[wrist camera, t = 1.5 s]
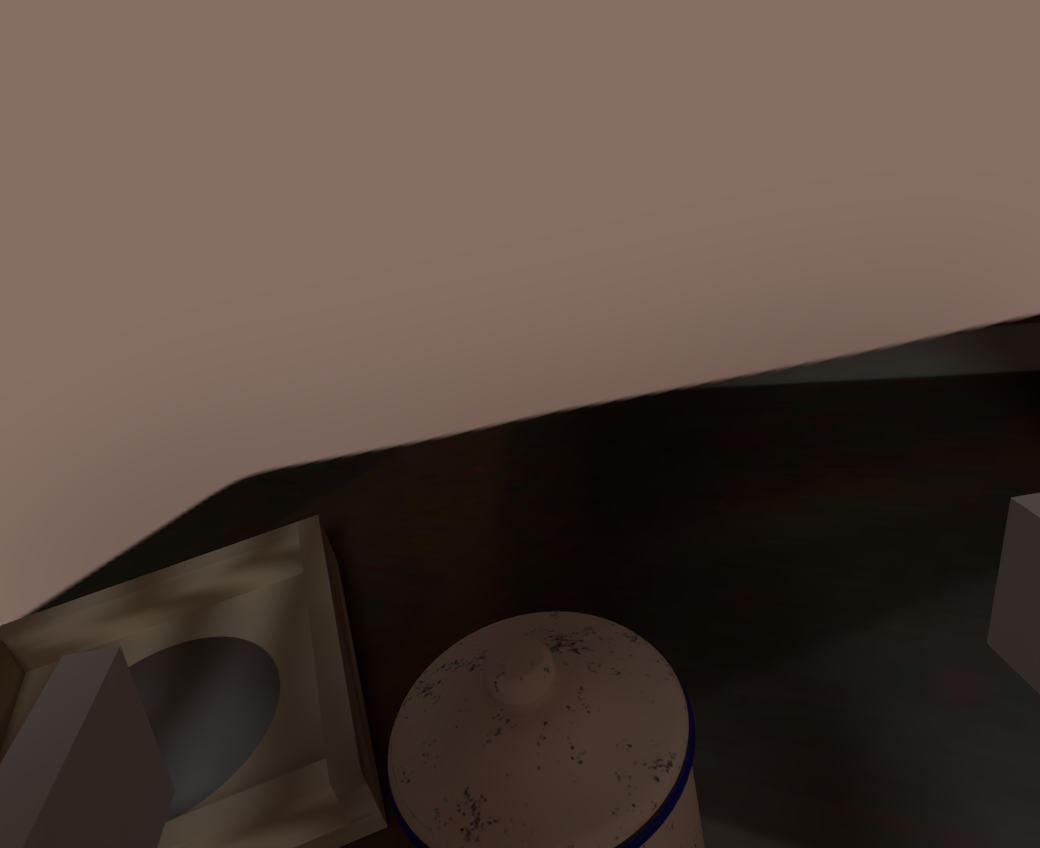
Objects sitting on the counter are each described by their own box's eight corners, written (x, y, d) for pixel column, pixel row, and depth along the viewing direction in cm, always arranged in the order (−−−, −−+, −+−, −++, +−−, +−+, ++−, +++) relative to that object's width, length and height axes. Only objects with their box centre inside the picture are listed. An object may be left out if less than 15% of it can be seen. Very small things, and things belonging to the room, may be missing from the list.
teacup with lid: (443, 816, 32) (351, 596, 26) (663, 747, 32) (622, 517, 27) (493, 1219, 21) (359, 1002, 16) (817, 1105, 22) (804, 856, 16)
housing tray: (337, 562, 47) (318, 514, 45) (387, 827, 32) (360, 770, 30) (16, 678, 44) (-18, 632, 42) (-99, 1031, 29) (-160, 982, 27)
